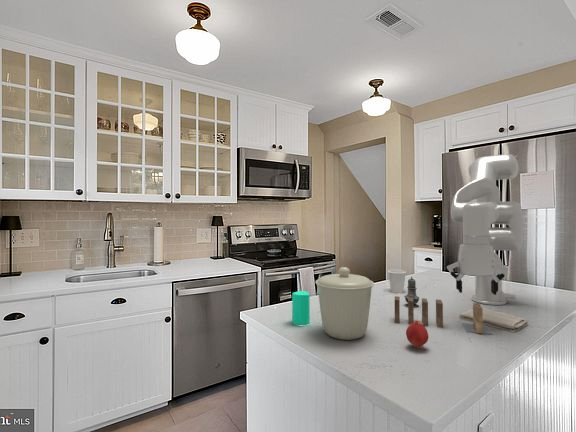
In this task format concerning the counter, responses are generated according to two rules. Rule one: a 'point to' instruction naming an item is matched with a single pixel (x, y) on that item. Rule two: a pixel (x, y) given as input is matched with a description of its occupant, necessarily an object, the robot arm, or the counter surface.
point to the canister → (344, 304)
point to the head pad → (470, 329)
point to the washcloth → (498, 320)
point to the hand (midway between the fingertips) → (476, 292)
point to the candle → (300, 308)
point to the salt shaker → (412, 292)
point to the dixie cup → (397, 280)
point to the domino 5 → (477, 317)
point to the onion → (417, 334)
